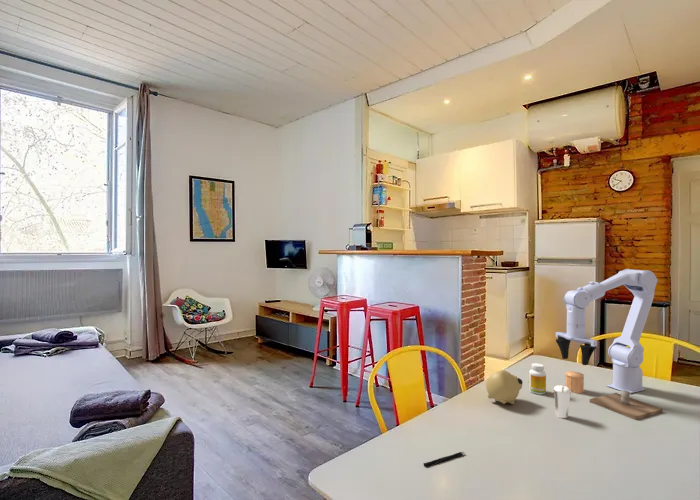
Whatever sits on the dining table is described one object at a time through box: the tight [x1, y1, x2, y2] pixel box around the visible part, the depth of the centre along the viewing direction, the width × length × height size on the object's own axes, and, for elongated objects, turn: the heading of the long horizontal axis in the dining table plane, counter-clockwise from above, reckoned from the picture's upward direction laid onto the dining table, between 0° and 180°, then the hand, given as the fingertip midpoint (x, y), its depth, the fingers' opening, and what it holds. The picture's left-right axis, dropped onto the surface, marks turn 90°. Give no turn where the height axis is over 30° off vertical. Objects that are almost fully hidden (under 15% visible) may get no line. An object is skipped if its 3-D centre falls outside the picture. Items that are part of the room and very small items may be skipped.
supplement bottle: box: [528, 362, 547, 395], centre depth 135 cm, size 5×5×10 cm
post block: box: [589, 390, 663, 420], centre depth 123 cm, size 14×14×5 cm
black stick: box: [422, 451, 466, 468], centre depth 91 cm, size 12×1×1 cm, turn 117°
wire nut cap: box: [564, 370, 585, 394], centre depth 137 cm, size 6×6×6 cm
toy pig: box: [485, 370, 524, 405], centre depth 126 cm, size 10×12×11 cm
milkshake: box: [553, 384, 572, 419], centre depth 115 cm, size 5×5×10 cm
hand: (574, 361), depth 137 cm, fingers open, 7 cm apart
